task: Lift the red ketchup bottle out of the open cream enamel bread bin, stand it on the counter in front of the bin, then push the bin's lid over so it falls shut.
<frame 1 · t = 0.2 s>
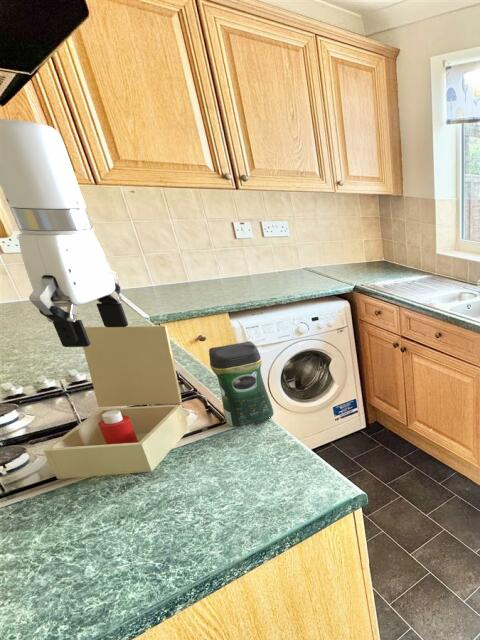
hand: (98, 335, 67), 28 cm above the counter, tool pointing down, fingers open, 9 cm apart
bread bin: (131, 454, 84), on the counter
ketchup bottle: (127, 453, 83), point 1 cm above the counter, touching bread bin
bin lid: (132, 366, 86), point 15 cm above the counter, hinge at 100.0°
coffee jar: (250, 419, 99), on the counter
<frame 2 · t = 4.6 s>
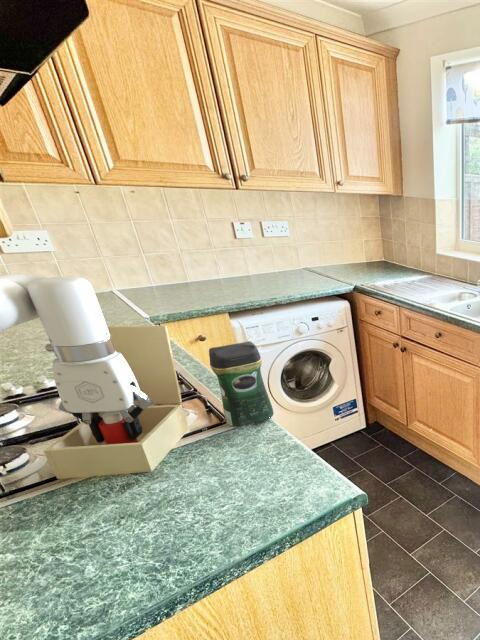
hand: (120, 436, 81), 5 cm above the counter, tool pointing down, fingers closed on ketchup bottle, 4 cm apart
ketchup bottle: (127, 453, 83), point 1 cm above the counter, touching bread bin, gripper
everything else where it was.
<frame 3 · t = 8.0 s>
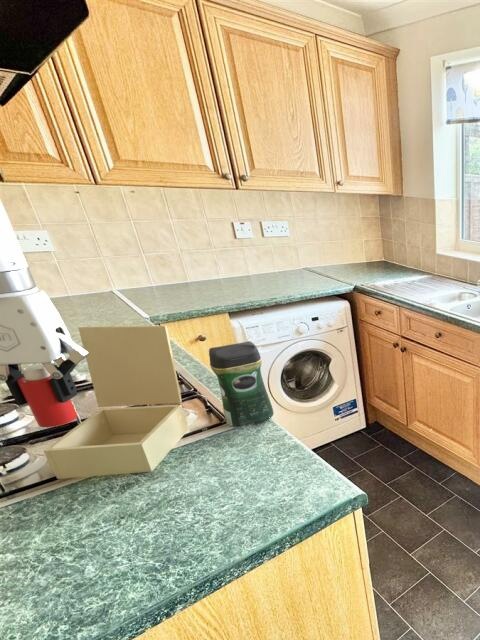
hand: (48, 398, 65), 19 cm above the counter, tool pointing down, fingers closed on ketchup bottle, 4 cm apart
ketchup bottle: (58, 420, 67), point 15 cm above the counter, touching gripper
everything else where it was.
when the fingers open (4 cm above the counter, at t = 11.9 s): ketchup bottle stays where it is, on the counter.
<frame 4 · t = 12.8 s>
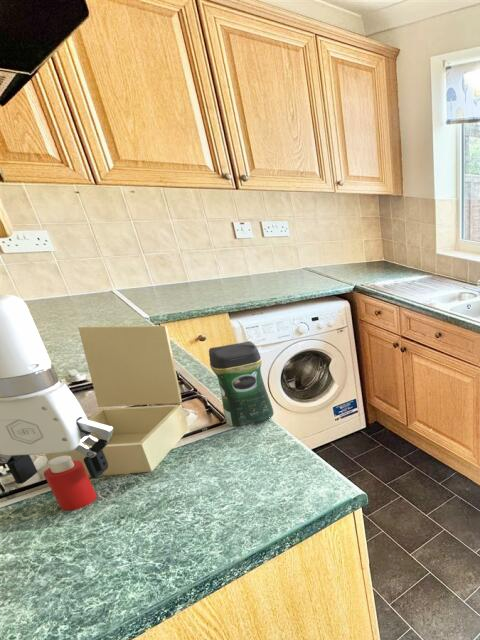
hand: (64, 475, 68), 6 cm above the counter, tool pointing down, fingers open, 9 cm apart
ketchup bottle: (80, 505, 71), on the counter
everything else where it was.
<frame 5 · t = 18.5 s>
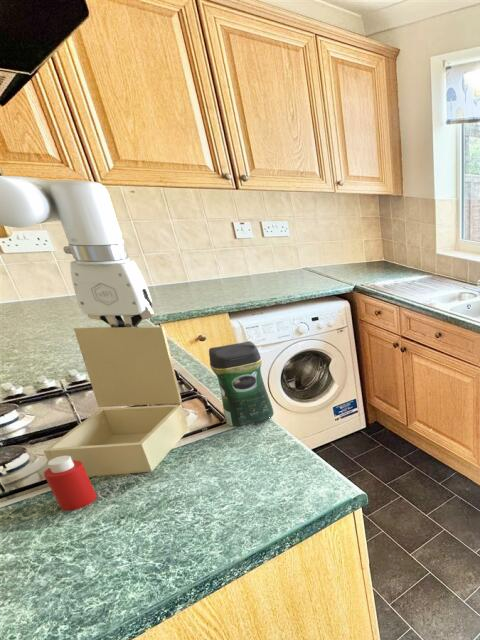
hand: (132, 345, 86), 19 cm above the counter, tool pointing down, fingers closed
bin lid: (130, 367, 85), point 15 cm above the counter, hinge at 95.8°
everything else where it was.
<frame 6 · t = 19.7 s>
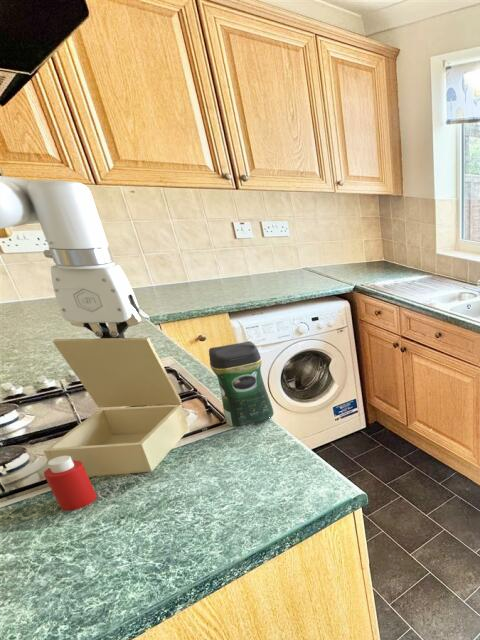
hand: (118, 354, 82), 19 cm above the counter, tool pointing down, fingers closed
bin lid: (122, 374, 82), point 15 cm above the counter, hinge at 75.2°
everything else where it was.
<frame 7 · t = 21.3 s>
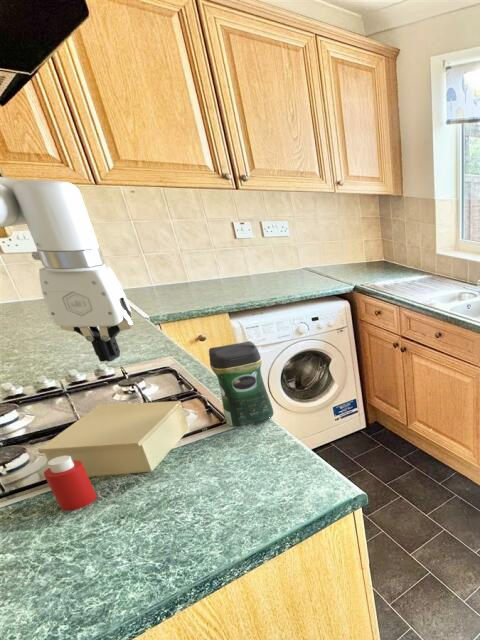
hand: (110, 358, 79), 19 cm above the counter, tool pointing down, fingers closed
bin lid: (117, 424, 80), point 7 cm above the counter, hinge at -0.1°
everything else where it was.
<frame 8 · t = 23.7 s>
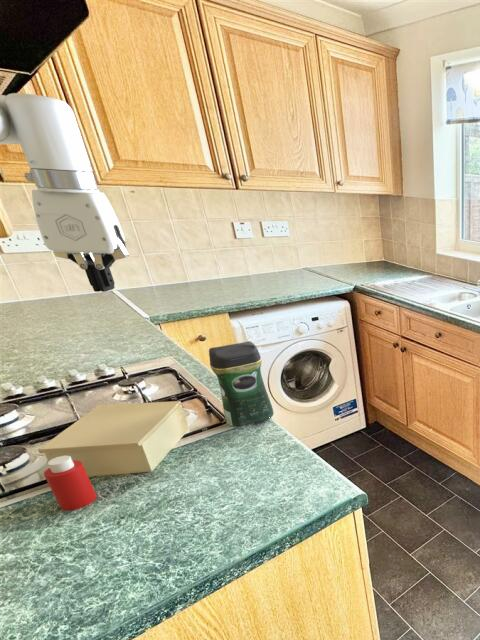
hand: (104, 289, 79), 31 cm above the counter, tool pointing down, fingers closed
nothing on the counter moved.
at the end: ketchup bottle inside the target area (0.1 cm from its centre), on the counter; ketchup bottle tilted 0°; bin lid at +0° (first picture: +100°) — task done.
